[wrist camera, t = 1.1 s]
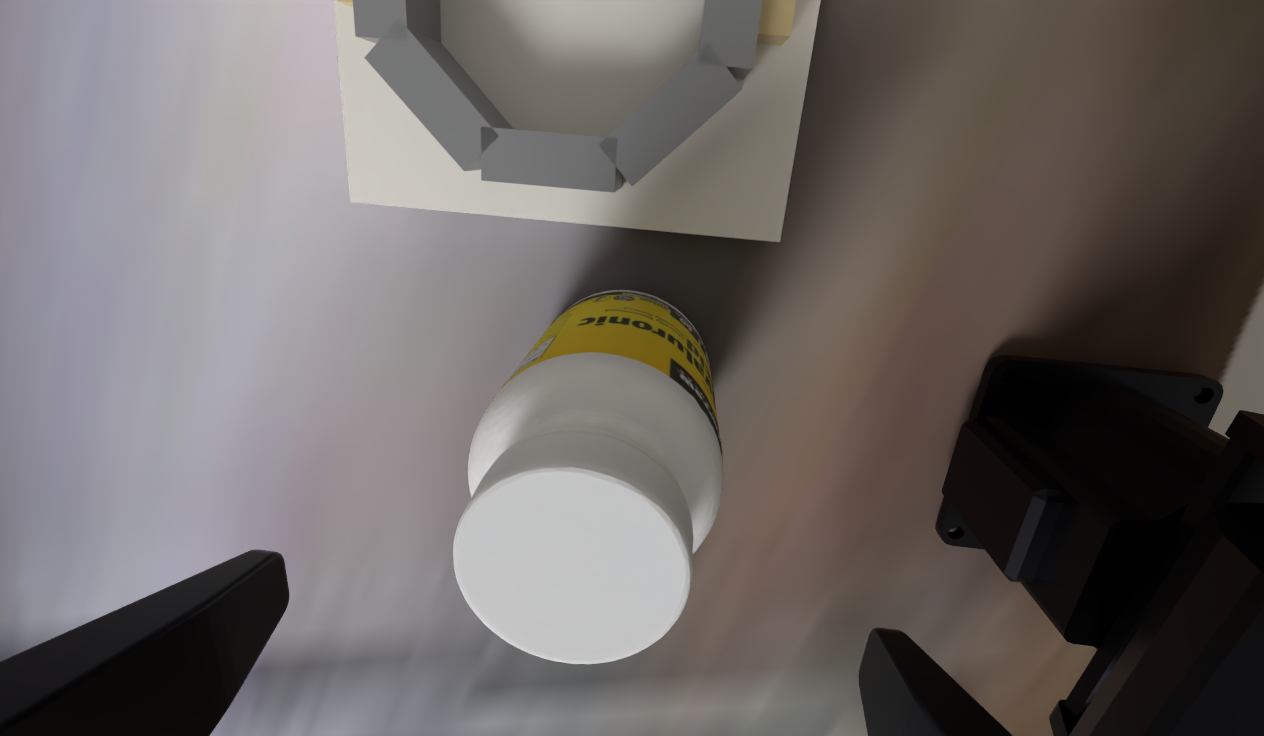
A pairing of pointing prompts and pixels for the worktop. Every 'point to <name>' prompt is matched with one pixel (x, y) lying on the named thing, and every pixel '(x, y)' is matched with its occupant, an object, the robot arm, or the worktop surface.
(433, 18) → the socket base
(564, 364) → the supplement bottle
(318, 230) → the worktop surface
